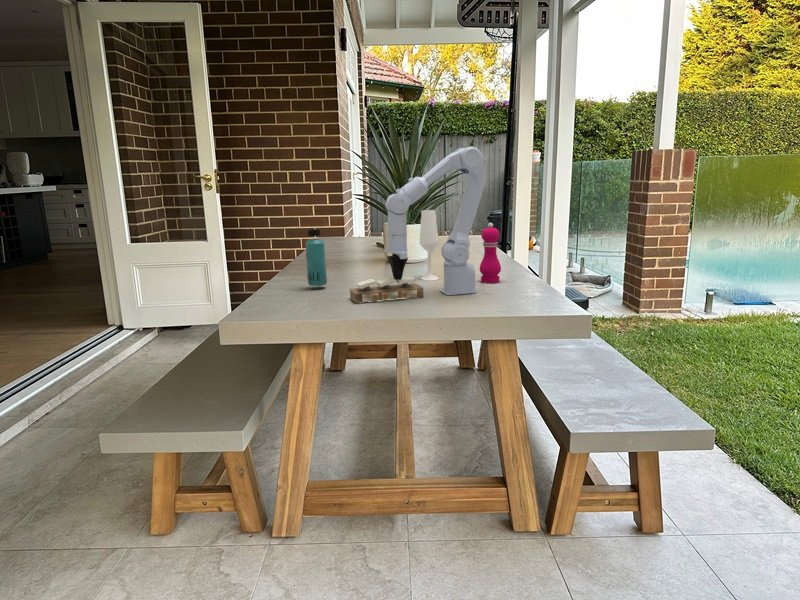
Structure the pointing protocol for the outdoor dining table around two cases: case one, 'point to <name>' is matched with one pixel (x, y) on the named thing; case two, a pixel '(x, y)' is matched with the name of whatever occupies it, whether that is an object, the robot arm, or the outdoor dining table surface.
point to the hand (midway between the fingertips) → (397, 279)
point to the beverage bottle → (315, 260)
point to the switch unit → (386, 292)
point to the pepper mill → (490, 256)
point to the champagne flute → (428, 237)
